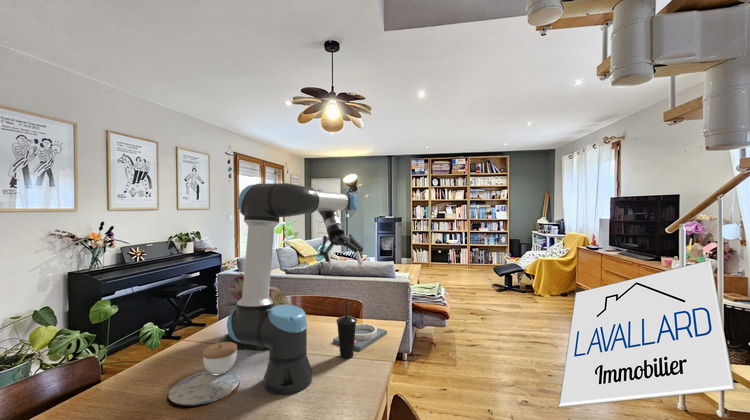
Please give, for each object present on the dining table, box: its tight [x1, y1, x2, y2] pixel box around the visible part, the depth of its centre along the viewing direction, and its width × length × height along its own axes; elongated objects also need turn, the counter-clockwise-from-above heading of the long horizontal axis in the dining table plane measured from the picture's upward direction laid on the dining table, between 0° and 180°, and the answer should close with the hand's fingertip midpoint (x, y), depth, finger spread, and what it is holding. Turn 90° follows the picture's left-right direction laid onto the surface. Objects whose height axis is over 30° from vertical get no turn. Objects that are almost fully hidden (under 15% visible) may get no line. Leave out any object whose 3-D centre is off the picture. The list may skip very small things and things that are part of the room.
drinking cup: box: [336, 302, 358, 360], centre depth 121 cm, size 8×8×20 cm
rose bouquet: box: [218, 272, 293, 351], centre depth 138 cm, size 26×29×30 cm
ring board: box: [332, 323, 388, 352], centre depth 137 cm, size 20×14×4 cm
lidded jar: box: [202, 342, 238, 375], centre depth 110 cm, size 11×11×9 cm
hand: (346, 265), depth 138 cm, fingers open, 13 cm apart
